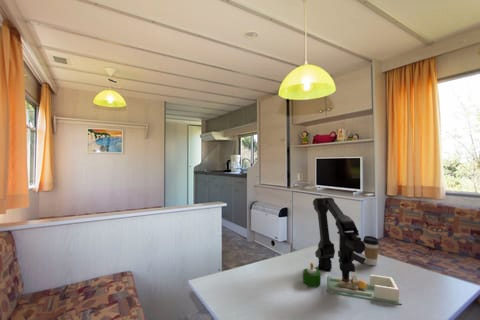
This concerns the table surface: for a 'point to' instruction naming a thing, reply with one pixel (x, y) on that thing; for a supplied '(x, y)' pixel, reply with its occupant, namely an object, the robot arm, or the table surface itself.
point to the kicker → (349, 282)
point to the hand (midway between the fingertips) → (345, 277)
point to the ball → (362, 284)
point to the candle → (311, 277)
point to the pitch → (369, 289)
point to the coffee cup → (371, 250)
